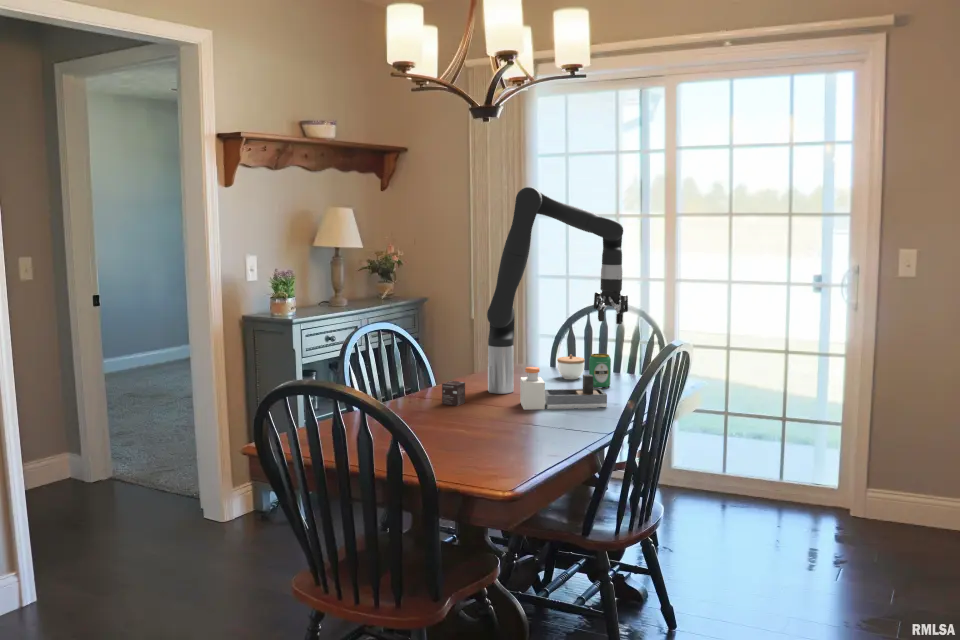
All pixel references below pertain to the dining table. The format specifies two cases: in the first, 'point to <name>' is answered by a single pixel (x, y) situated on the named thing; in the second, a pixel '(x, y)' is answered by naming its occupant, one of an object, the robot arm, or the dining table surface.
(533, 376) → the button
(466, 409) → the dining table surface
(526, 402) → the white boxy piece
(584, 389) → the carriage
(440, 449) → the dining table surface
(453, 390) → the box
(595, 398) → the gray rectangular tray
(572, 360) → the lidded jar
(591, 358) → the beverage can
